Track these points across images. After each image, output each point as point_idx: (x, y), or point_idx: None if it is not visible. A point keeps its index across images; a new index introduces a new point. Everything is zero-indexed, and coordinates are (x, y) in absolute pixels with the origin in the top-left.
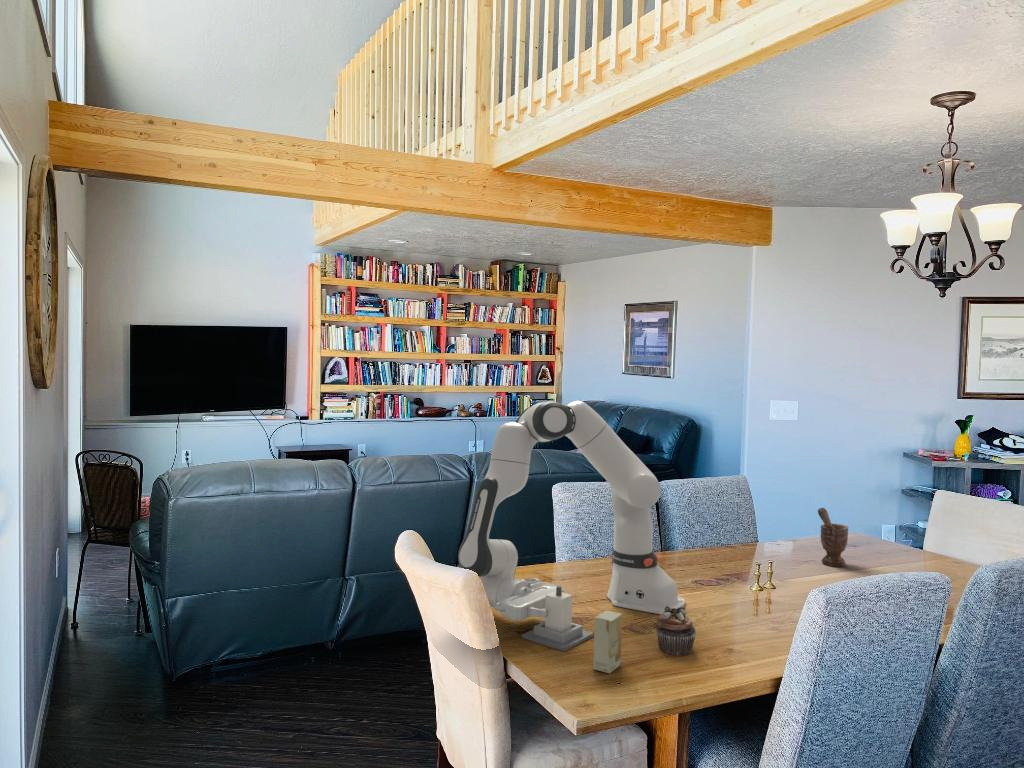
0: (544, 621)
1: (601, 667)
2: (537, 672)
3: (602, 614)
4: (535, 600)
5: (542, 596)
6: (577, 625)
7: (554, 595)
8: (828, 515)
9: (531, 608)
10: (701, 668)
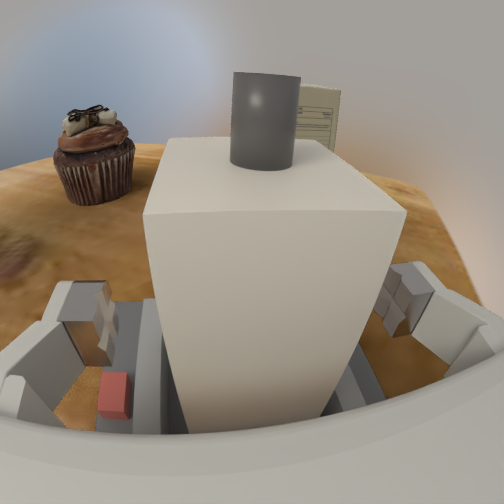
0: None
1: None
2: (449, 266)
3: (309, 85)
4: (464, 384)
5: (284, 467)
6: (156, 313)
7: (314, 170)
8: None
9: (499, 320)
10: (158, 161)
